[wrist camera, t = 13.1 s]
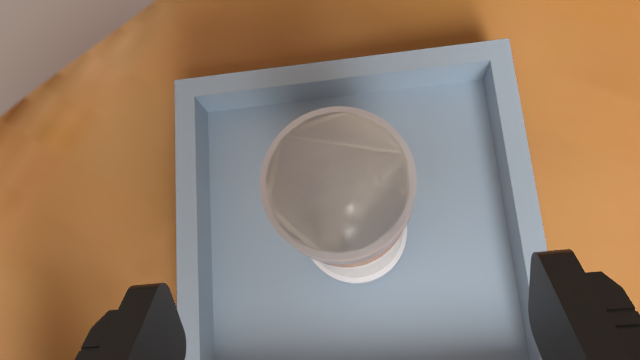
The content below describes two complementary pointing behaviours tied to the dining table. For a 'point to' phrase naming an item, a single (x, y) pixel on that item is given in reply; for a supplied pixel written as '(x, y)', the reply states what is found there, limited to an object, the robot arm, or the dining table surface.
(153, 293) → the robot arm
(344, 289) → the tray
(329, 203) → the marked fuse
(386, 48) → the dining table surface
